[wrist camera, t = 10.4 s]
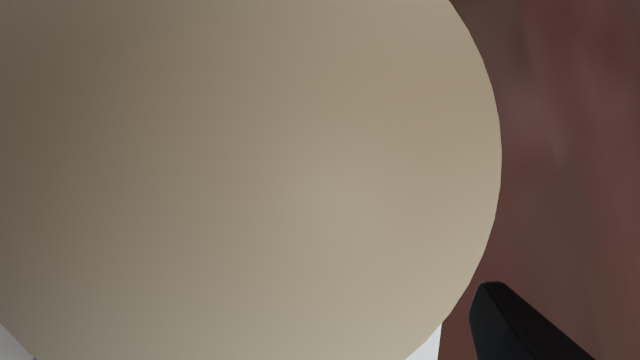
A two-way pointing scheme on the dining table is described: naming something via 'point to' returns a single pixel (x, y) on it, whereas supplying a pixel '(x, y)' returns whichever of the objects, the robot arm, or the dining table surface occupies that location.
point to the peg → (240, 176)
